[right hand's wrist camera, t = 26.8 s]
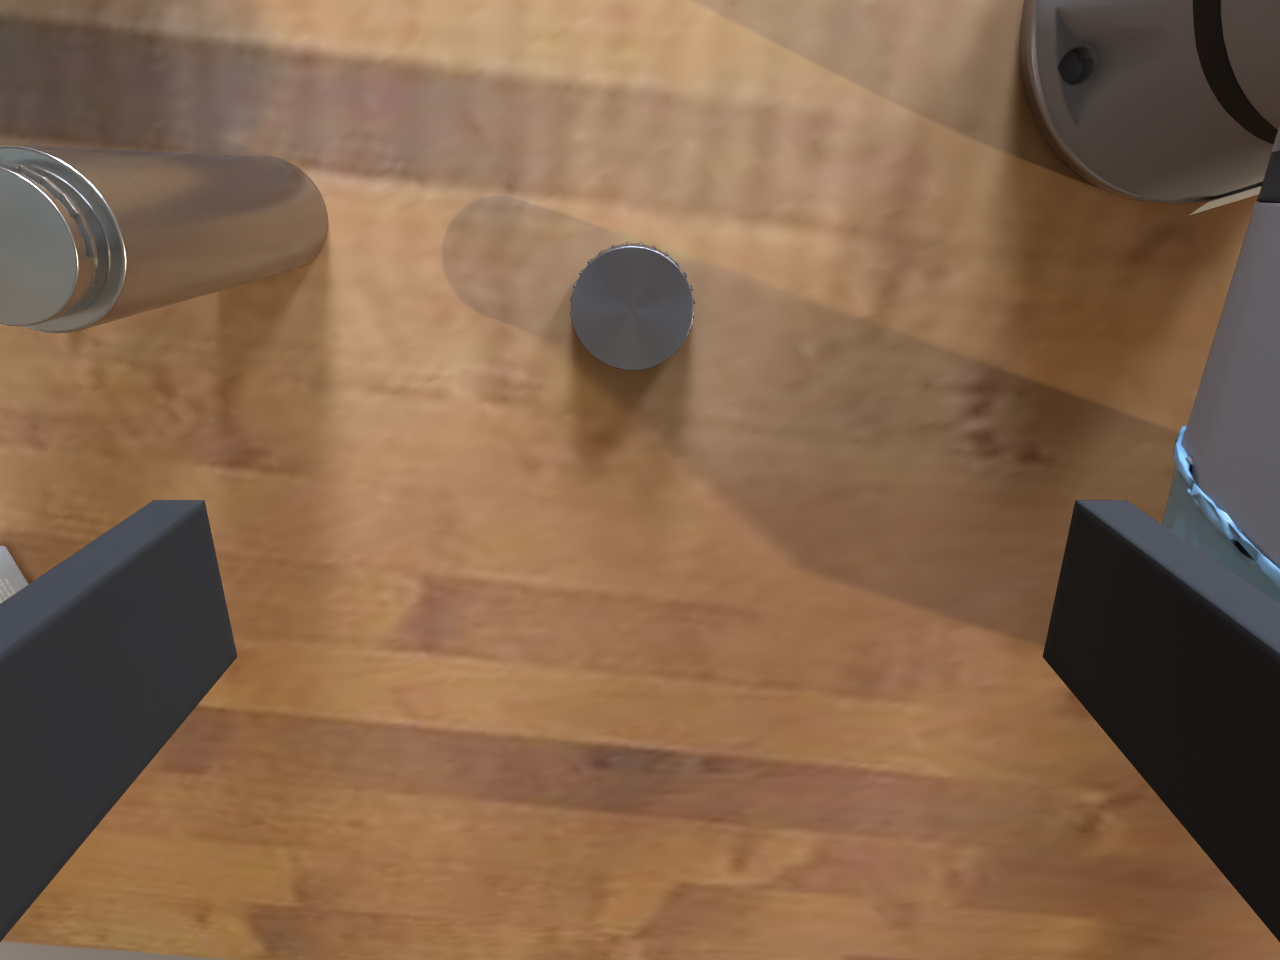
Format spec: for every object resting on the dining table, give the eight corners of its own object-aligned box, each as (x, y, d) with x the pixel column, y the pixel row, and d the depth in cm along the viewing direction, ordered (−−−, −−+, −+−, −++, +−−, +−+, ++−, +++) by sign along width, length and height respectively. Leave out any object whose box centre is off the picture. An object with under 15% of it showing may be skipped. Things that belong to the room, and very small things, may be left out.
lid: (552, 331, 39) (548, 337, 37) (605, 219, 37) (603, 221, 35) (658, 384, 40) (658, 392, 38) (714, 277, 38) (718, 282, 36)
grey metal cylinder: (320, 156, 36) (68, 144, 20) (335, 271, 38) (114, 343, 22) (208, 155, 36) (-133, 142, 20) (228, 270, 38) (-71, 342, 22)
